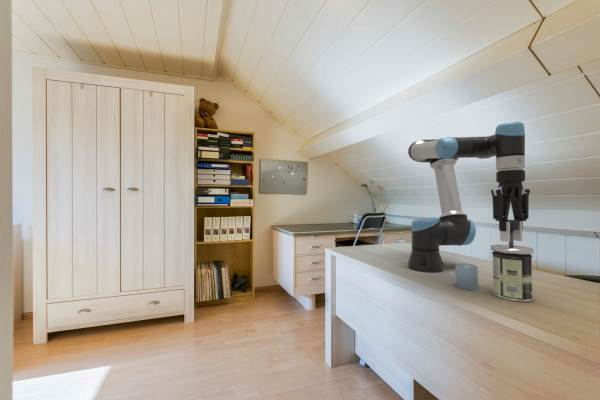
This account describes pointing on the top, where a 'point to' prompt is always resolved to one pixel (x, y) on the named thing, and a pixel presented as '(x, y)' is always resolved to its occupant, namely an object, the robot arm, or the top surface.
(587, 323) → the top surface
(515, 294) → the coffee can
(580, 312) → the top surface
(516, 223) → the plunger
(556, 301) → the top surface
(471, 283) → the frosted blue tumbler
